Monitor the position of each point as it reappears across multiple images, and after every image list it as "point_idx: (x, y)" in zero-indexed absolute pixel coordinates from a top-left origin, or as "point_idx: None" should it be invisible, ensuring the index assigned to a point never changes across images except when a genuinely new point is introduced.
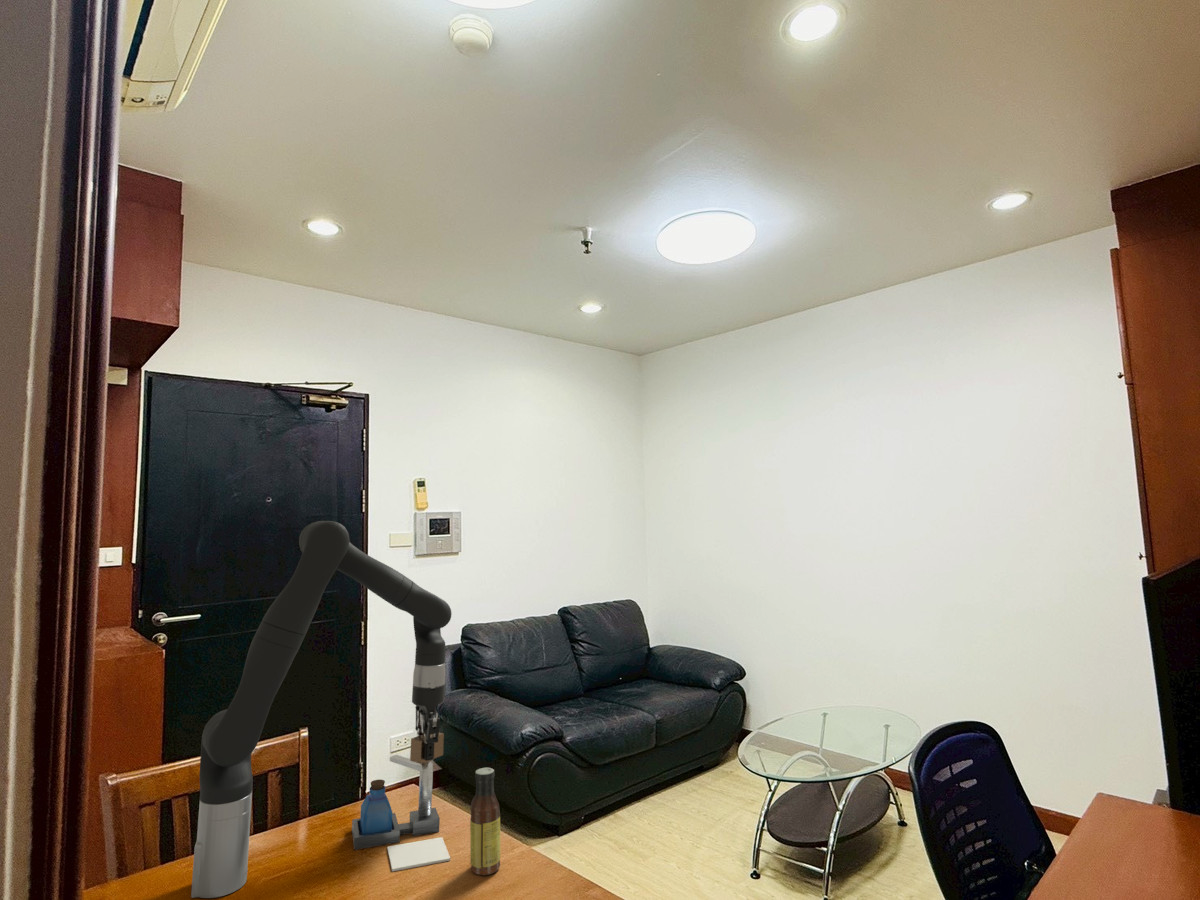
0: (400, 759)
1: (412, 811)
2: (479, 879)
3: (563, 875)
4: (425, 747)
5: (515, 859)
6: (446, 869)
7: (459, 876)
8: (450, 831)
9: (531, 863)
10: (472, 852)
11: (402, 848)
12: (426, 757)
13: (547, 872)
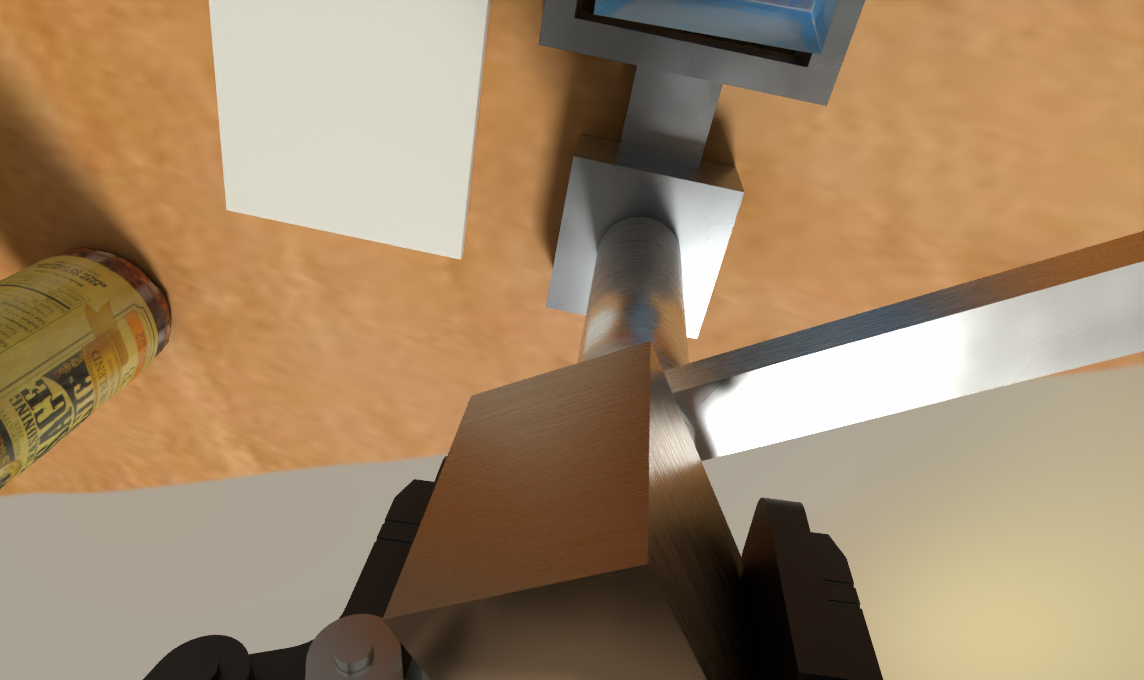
0: (1039, 309)
1: (736, 207)
2: (36, 248)
3: (16, 488)
4: (397, 578)
5: (166, 423)
6: (155, 158)
7: (77, 185)
8: (528, 319)
9: (121, 451)
10: (10, 280)
11: (426, 16)
12: (418, 488)
13: (45, 461)
